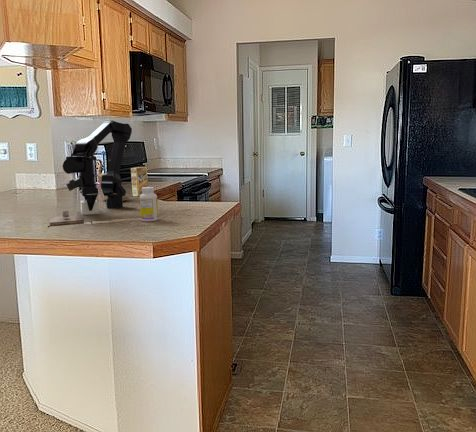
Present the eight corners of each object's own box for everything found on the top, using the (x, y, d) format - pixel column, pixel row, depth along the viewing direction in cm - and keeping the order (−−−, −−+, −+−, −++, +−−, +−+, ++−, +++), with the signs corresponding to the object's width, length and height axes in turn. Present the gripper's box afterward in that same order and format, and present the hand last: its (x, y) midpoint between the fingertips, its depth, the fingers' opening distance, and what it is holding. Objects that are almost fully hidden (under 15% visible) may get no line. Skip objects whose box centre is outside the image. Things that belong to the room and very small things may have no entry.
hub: (81, 218, 192) (80, 206, 192) (83, 223, 181) (82, 210, 181) (49, 221, 188) (48, 209, 187) (50, 226, 177) (48, 213, 176)
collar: (96, 211, 204) (96, 199, 203) (98, 213, 198) (97, 201, 198) (81, 212, 202) (80, 200, 201) (82, 214, 196) (81, 202, 195)
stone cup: (97, 200, 246) (95, 171, 243) (119, 198, 252) (118, 170, 249) (105, 204, 233) (103, 173, 230) (129, 201, 239) (127, 171, 236)
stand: (100, 212, 207) (100, 202, 206) (103, 216, 198) (103, 205, 197) (76, 214, 203) (75, 204, 202) (78, 218, 194) (77, 207, 193)
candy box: (138, 196, 258) (136, 168, 256) (132, 196, 261) (130, 168, 258) (148, 194, 266) (147, 166, 263) (142, 194, 268) (141, 166, 265)
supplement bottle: (150, 218, 190) (149, 186, 188) (161, 219, 186) (160, 187, 184) (137, 220, 185) (135, 187, 183) (148, 222, 181) (146, 188, 179)
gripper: (64, 171, 203) (67, 207, 205) (67, 174, 186) (70, 214, 188) (92, 170, 207) (94, 205, 210) (97, 173, 190) (99, 211, 193)
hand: (89, 209), depth 200 cm, fingers open, 8 cm apart
